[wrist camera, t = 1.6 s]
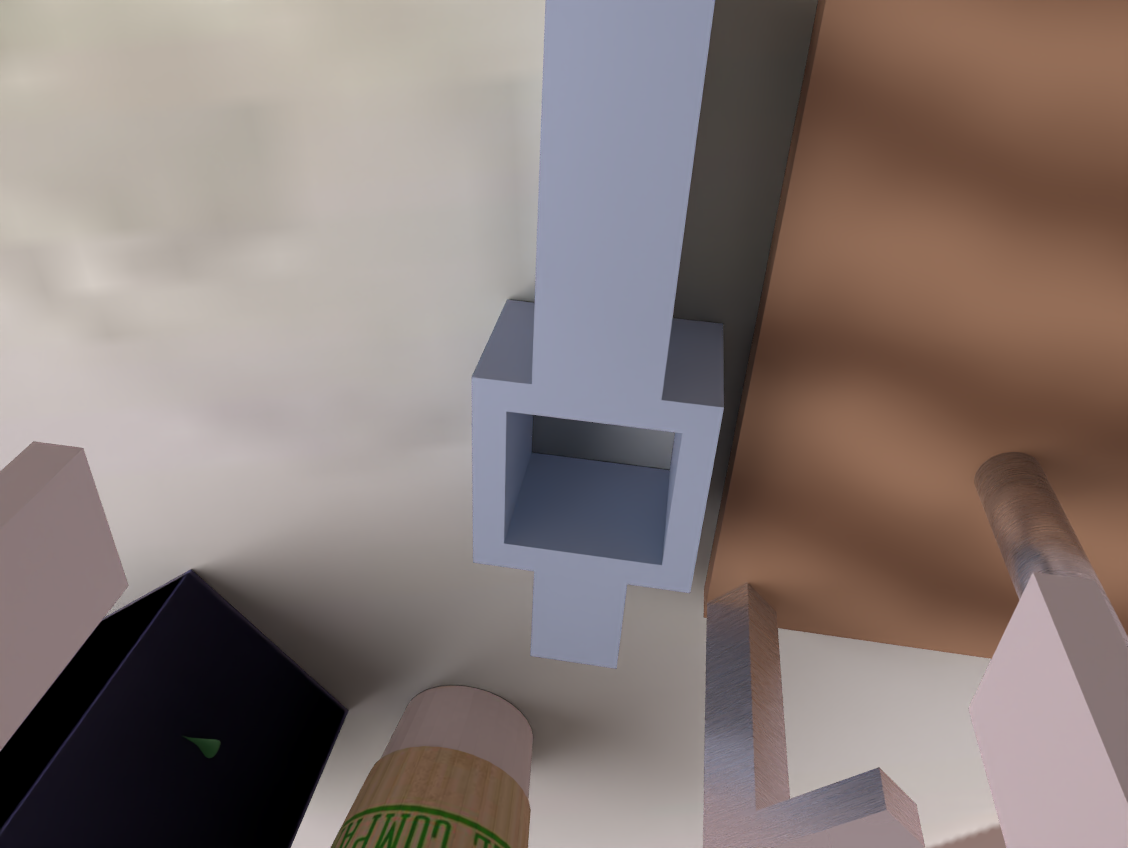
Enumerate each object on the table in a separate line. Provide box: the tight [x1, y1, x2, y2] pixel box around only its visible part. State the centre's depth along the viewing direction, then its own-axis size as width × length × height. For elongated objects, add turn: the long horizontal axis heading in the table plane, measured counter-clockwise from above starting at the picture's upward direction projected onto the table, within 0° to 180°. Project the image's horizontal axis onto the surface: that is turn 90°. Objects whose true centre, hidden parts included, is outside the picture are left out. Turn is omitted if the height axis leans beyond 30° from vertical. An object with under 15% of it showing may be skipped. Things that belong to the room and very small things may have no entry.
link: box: [472, 0, 724, 669], centre depth 27 cm, size 21×7×5 cm, turn 177°
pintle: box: [974, 452, 1128, 647], centre depth 25 cm, size 2×2×10 cm
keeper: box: [703, 582, 925, 848], centre depth 28 cm, size 6×2×12 cm, turn 132°
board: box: [704, 0, 1128, 659], centre depth 27 cm, size 22×19×2 cm
